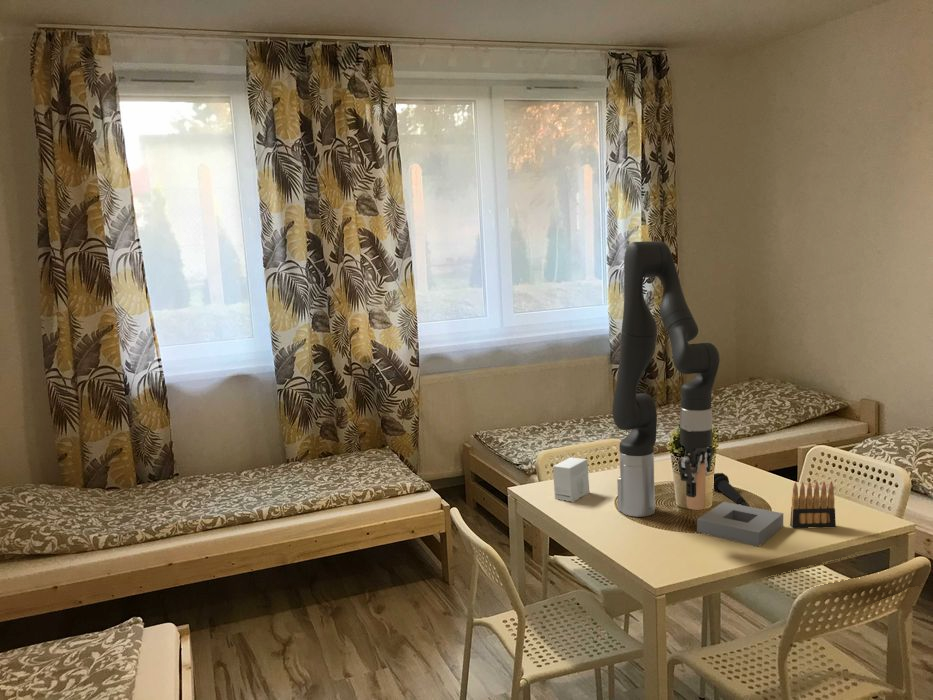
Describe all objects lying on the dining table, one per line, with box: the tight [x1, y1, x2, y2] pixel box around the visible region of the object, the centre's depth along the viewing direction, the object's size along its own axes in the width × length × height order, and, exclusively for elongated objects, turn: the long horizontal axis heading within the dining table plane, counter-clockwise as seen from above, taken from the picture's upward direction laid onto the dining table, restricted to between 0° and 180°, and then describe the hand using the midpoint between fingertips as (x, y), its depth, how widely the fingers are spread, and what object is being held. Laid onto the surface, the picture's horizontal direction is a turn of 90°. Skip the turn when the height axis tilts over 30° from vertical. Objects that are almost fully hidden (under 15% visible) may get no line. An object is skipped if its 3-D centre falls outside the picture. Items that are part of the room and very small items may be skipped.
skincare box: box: [552, 456, 590, 503], centre depth 230 cm, size 10×6×10 cm, turn 142°
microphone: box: [713, 472, 748, 506], centre depth 221 cm, size 6×6×20 cm
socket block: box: [696, 501, 784, 547], centre depth 197 cm, size 16×16×4 cm
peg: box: [686, 463, 706, 511], centre depth 187 cm, size 4×4×11 cm
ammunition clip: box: [789, 480, 837, 529], centre depth 196 cm, size 11×2×12 cm, turn 85°
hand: (695, 493), depth 187 cm, fingers closed on peg, 4 cm apart
